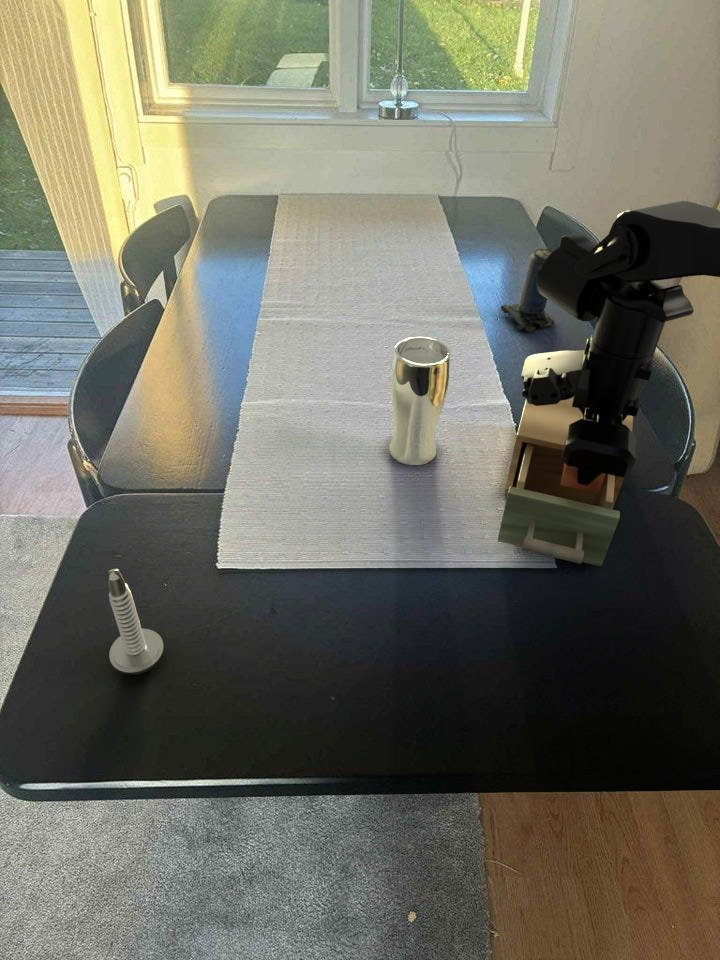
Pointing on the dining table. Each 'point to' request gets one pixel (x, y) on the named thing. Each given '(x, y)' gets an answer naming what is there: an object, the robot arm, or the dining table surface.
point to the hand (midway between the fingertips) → (583, 471)
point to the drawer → (557, 511)
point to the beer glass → (418, 397)
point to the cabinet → (548, 434)
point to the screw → (131, 632)
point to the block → (571, 480)
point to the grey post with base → (531, 297)
